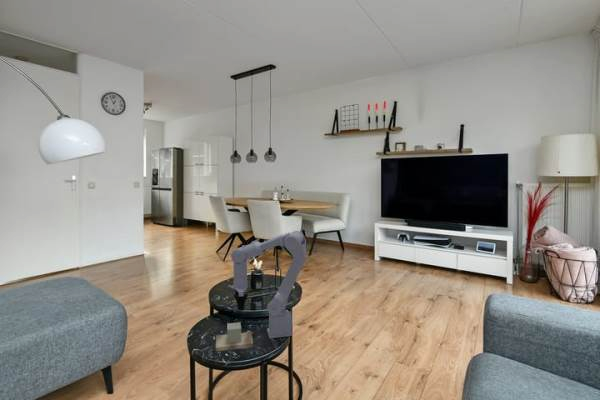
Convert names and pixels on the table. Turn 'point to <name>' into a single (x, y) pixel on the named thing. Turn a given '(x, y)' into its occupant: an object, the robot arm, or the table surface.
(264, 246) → the robot arm
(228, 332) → the grey block
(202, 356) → the table surface
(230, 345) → the stub board
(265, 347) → the table surface
